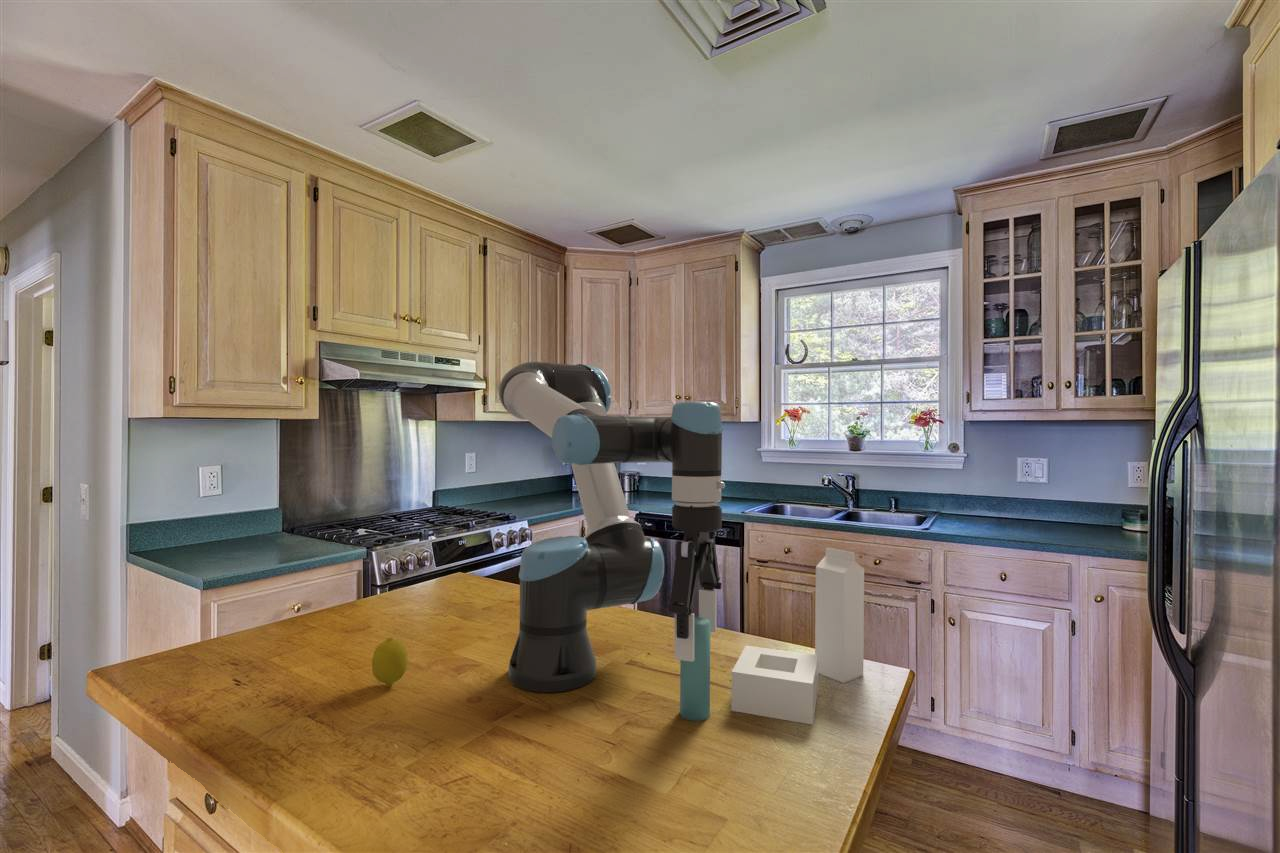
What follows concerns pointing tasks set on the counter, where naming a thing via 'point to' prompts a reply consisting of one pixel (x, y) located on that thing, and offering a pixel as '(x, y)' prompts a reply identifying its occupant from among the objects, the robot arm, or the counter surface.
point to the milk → (839, 616)
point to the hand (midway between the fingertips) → (696, 644)
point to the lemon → (389, 661)
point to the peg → (696, 675)
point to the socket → (775, 684)
